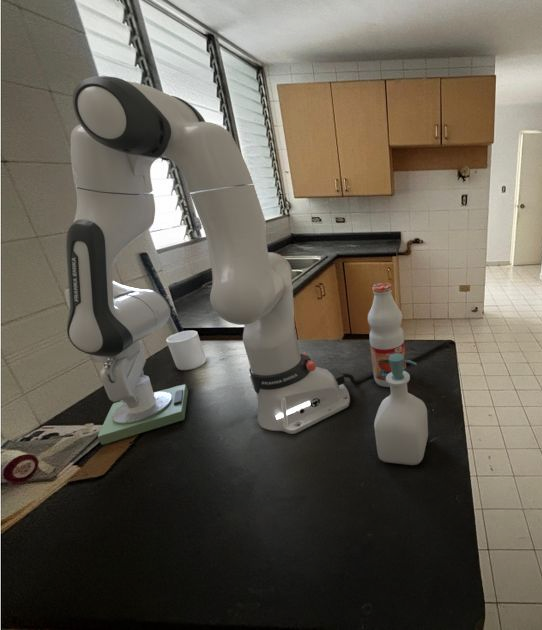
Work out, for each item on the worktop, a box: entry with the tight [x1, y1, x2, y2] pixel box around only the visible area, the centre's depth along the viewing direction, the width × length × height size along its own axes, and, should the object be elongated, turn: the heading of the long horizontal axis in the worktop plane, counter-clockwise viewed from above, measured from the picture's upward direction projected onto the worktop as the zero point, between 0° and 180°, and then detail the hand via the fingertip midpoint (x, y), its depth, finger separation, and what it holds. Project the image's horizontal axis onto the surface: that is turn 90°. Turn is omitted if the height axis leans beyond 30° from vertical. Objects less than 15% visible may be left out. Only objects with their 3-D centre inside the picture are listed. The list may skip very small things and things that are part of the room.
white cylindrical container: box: [120, 374, 156, 414], centre depth 82 cm, size 7×7×7 cm
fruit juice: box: [367, 282, 408, 388], centre depth 90 cm, size 9×9×28 cm
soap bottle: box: [373, 354, 429, 466], centre depth 66 cm, size 10×10×23 cm
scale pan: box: [112, 391, 172, 424], centre depth 84 cm, size 12×12×1 cm
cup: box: [165, 330, 207, 371], centre depth 107 cm, size 8×12×10 cm
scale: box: [97, 383, 189, 446], centre depth 85 cm, size 16×14×3 cm
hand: (138, 395), depth 83 cm, fingers open, 8 cm apart
